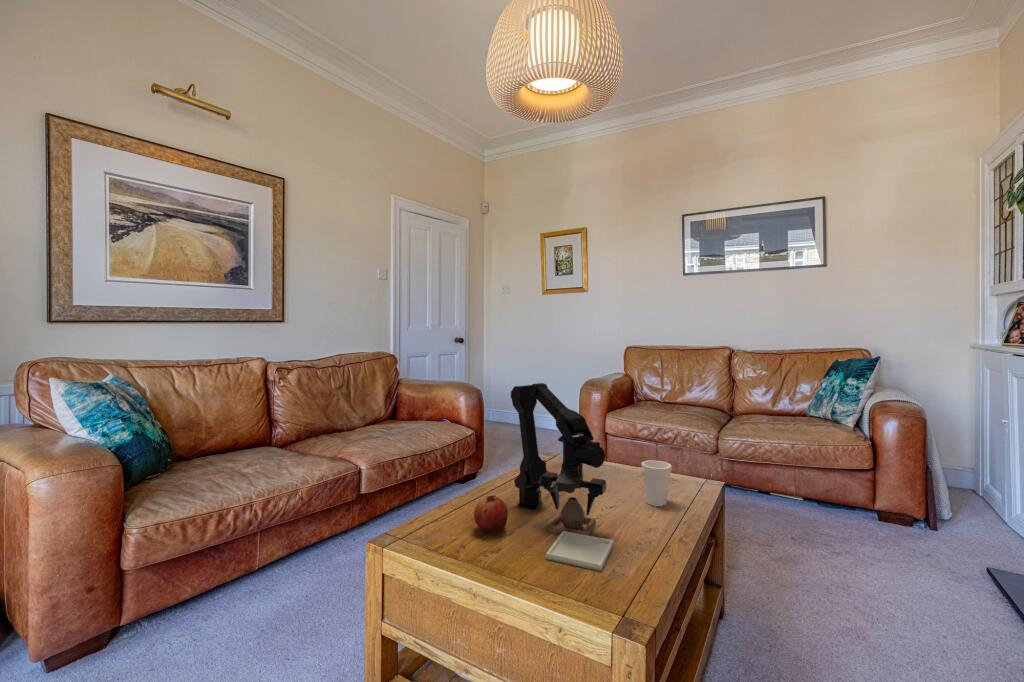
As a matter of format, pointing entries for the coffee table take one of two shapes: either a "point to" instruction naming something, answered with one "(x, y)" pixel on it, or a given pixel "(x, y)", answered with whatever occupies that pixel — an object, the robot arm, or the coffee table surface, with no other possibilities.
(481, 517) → the fruit
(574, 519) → the vase
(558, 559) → the tray
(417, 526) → the coffee table surface
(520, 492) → the robot arm
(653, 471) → the foam cup
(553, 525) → the holder
